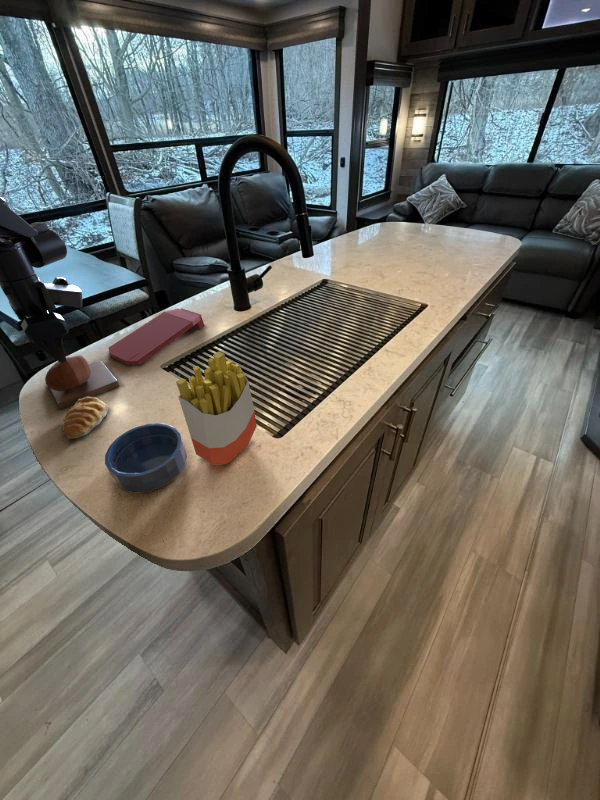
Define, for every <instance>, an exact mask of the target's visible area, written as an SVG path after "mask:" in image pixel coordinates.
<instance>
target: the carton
mask: <svg viewBox="0 0 600 800" xmlns="http://www.w3.org/2000/svg"><path fill="white" fill-rule="evenodd" d="M205 326H206V325H205V322H204V320H203V317H202V314H201V313H198V312H194V311H191V310H188V309H184V308H174V309H169V310H166V311H162V312H161V313H159V314H158V315H157V316H155V317H153V318H152V319H151V320H149V321H147V322H145V323H144V324H143V325H141V326H140V327H138V328H136V329H135V330H134V331H132V332H130V333H129V334H127V335H126V336H124V337H122V338H121V339H120V340H118V341H116V342H115V343H114V344H112V345H110V346H109V347H108V354H109V355H110V356H111V357H110V358H113V359H115V360H117V361H119V362H120V363H121V362H122V363H123V364H126V365H128V366H140V365H142V364H143V363H145V362H146V361H147V360H149V359H150V358H151V357H153V356H154V355H156V354H158V352H160V351H161V350H162V349H164V348H165V347H166V346H168V345H169V344H171V343H172V342H173V341H175V340H176V339H178V338H179V337H181V336H182V335H183V334H185V333H186V332H187V331H189V330H191V328H195V329H198V330H201V329H203V328H204V327H205Z"/></svg>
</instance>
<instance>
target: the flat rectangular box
mask: <svg viewBox="0 0 600 800" xmlns="http://www.w3.org/2000/svg"><path fill="white" fill-rule="evenodd" d="M88 364H89V367H90V370H91V374H90V378H89V379H88V380H87V381H86V382H85V383H83V384H82V385H80V386H78V387H76V388H73V389H69V390H66V391H56V390H53V389H51V388H49V389H50V391H51V392H52V396H53V397H54V399H55V401H56V403H57V405H58V406H59V408H60V409H64V408H67V407H70V406H72V405H75V403H76V402H77V401H78V399H82V398H84V397H96V396H97V395H100V394H103V393H106V392H108V391H110V390H111V391H112V390H113V389H116V388H118V387H120V383H119V381H118V380H117V378H116V377H115V376H114V374H112V372H111V371H110V370H109V368H108V367H107V366H106V364H105V363H104V362H103V361H102V360H101V359H100V360H97V361H95V362H91V363H88Z"/></svg>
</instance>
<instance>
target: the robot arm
mask: <svg viewBox="0 0 600 800" xmlns="http://www.w3.org/2000/svg"><path fill="white" fill-rule="evenodd" d="M3 237H8V238H9V239H6V238H3ZM67 255H68V247H67V245H66V243H65V241H64V240H62V237H60V236H59V234H57V233H56V232H55V231H54V230H52V229H50V228H49V226H48V223H47V222H46V221H37V222H32V223H30V224H29V223H28V222H27V221H26V220H25V219H23V218H22V216H20V215H19V214H17V212H15V211H14V210H13V209H12V208H11V207H10V205H8V204H7V202H6V200H5V199H4V198H3V197H1V196H0V288H1V290H2V292H3V294H4V296H5V297H6V298H7V300H8V304H9V306H10V308H11V309H12V311H13V313H14V314H15V316H17V319H18V320H19V321H20V322H21V324H20V326H21V328H22V331H23V333H24V334H25V336H26V337H27V339H28V340H29V342H30V343H32V344H34V345H35V346H37V347H38V348H40V349H41V350H43V351H44V352H45V353H47V354H48V355H49V356H50V357H52V358H53V359H55V360H56V362H58V361H59V362H60V363H63V362H66V357H67V356H66V352H65V346H64V341H63V338H64V337H65V335H67V334H69V331H70V328H69V326H68V324H67V322H66V320H65V319H64V318H63V316H62V315H61V314H59V313H56V312H54V311H55V310H57V307H56V306H59V307H74V308H75V309H76V308H77V309H80V308H83V291H82V289H80V288H79V287H78V286H76V285H74V284H69V282H68V281H67V279H66V278H65V277H60V276H59V277H58V276H55V277H54V279H53V281H52V282H48V283H45V282H43V281H42V280H41V278H40V277H39V276H38V275H37V273H36V271H35V270H34V268H36V269H41V268H44V267H46V266H48V265H51V264H53V263H57V262H59V261H61V260H64V259H66V258H67Z"/></svg>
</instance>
